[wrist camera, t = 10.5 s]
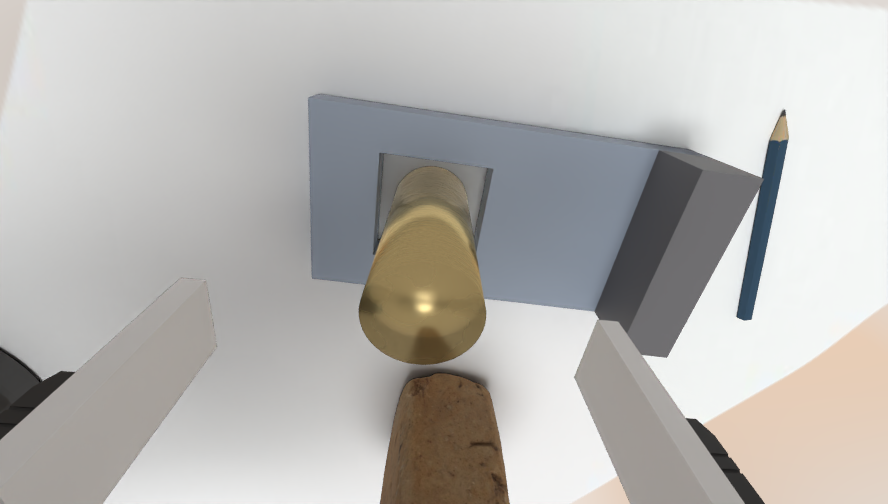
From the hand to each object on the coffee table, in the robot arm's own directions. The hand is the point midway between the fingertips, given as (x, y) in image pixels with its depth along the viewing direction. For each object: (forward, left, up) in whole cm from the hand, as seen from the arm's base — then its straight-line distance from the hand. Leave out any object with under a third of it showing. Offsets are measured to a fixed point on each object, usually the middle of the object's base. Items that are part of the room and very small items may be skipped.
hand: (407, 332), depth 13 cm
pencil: (+22, +2, -13) cm, 26 cm away
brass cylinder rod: (0, 0, -13) cm, 13 cm away
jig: (+4, 0, -13) cm, 13 cm away
